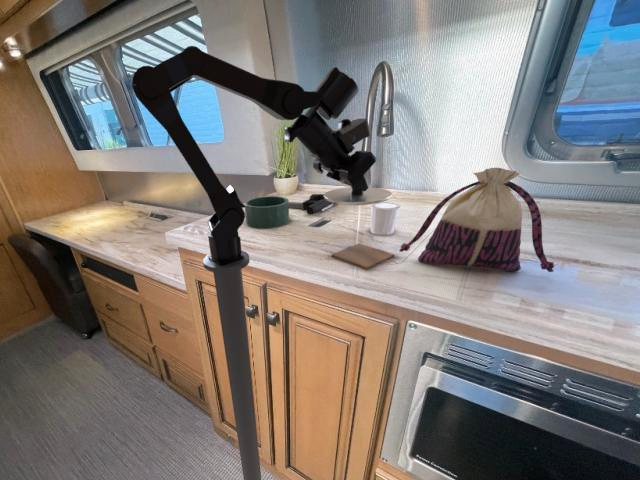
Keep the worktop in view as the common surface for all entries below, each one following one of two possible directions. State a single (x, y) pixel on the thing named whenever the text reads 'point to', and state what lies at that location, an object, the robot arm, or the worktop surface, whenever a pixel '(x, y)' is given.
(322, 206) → the door handle
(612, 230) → the worktop surface
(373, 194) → the tin lid
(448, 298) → the worktop surface
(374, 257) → the plate
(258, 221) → the lunch tin
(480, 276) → the worktop surface
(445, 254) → the pouch
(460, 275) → the worktop surface
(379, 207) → the white cup
